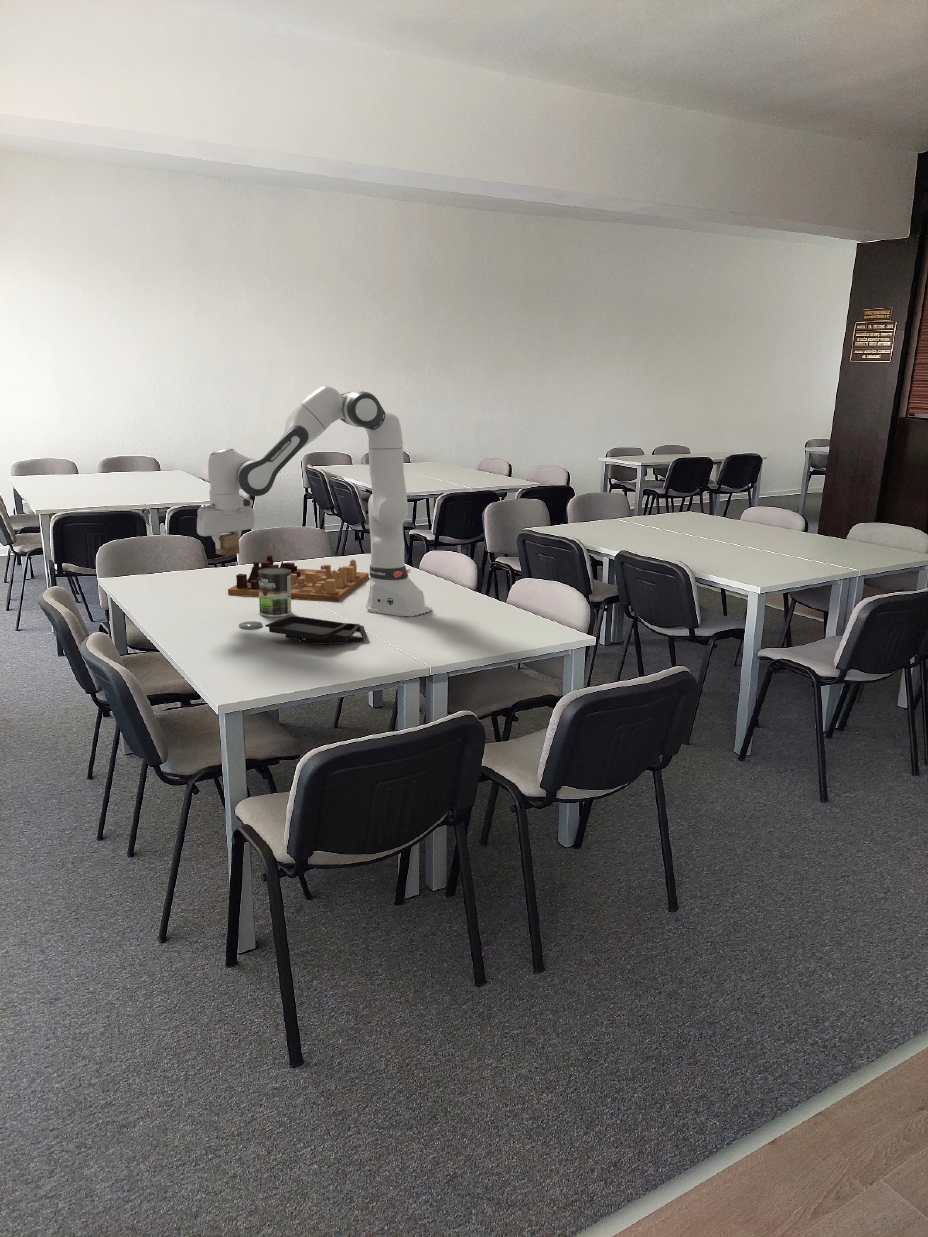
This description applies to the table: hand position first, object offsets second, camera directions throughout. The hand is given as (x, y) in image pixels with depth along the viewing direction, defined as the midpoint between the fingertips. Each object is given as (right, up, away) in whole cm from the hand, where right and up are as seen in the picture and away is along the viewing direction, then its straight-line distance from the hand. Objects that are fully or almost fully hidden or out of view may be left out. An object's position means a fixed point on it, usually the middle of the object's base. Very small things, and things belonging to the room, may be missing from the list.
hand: (227, 546), depth 279 cm
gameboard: (+14, -11, +50) cm, 54 cm away
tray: (+31, -29, -18) cm, 46 cm away
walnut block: (0, -2, +1) cm, 2 cm away
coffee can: (+13, -21, +11) cm, 27 cm away
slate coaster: (+9, -25, -5) cm, 27 cm away
